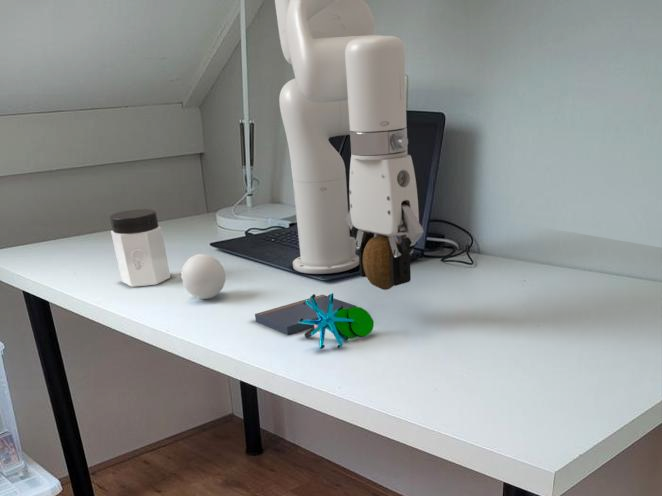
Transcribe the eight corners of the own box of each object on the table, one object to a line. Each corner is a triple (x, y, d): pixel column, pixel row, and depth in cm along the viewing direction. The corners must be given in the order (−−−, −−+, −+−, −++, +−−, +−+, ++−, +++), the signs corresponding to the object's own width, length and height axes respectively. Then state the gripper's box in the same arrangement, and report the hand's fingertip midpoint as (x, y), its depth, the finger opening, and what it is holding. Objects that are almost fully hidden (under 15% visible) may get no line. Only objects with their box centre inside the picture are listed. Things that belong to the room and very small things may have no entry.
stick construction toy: (312, 342, 99) (301, 287, 100) (286, 360, 105) (277, 308, 106) (383, 345, 106) (373, 293, 107) (356, 362, 112) (346, 313, 113)
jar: (119, 288, 136) (103, 220, 130) (125, 276, 143) (110, 211, 137) (168, 284, 137) (155, 216, 131) (172, 272, 144) (160, 207, 138)
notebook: (323, 301, 122) (322, 294, 122) (357, 313, 116) (356, 305, 116) (255, 321, 116) (254, 313, 115) (287, 334, 110) (286, 326, 109)
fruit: (367, 283, 112) (364, 228, 108) (408, 282, 112) (406, 227, 107) (361, 295, 107) (357, 238, 103) (404, 294, 106) (402, 237, 102)
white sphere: (237, 294, 129) (231, 251, 125) (207, 307, 124) (199, 262, 120) (196, 287, 134) (189, 245, 130) (165, 299, 129) (157, 256, 125)
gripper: (444, 144, 95) (445, 284, 105) (360, 137, 107) (367, 264, 117) (400, 152, 92) (405, 296, 101) (318, 144, 104) (329, 274, 113)
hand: (385, 277), depth 109 cm, fingers closed on fruit, 6 cm apart
